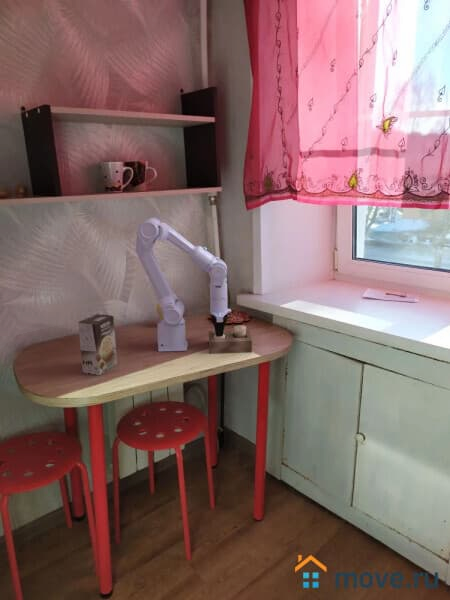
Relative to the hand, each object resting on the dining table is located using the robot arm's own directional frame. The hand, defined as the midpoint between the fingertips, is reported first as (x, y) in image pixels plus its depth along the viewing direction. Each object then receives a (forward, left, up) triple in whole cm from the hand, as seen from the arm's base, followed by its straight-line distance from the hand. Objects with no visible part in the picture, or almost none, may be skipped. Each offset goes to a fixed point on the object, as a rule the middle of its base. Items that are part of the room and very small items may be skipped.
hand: (219, 335), depth 157 cm
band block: (+3, 0, -4) cm, 5 cm away
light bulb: (-20, +23, -4) cm, 31 cm away
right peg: (+7, 0, -1) cm, 7 cm away
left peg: (0, 0, -4) cm, 4 cm away
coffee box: (-37, -15, -4) cm, 40 cm away
